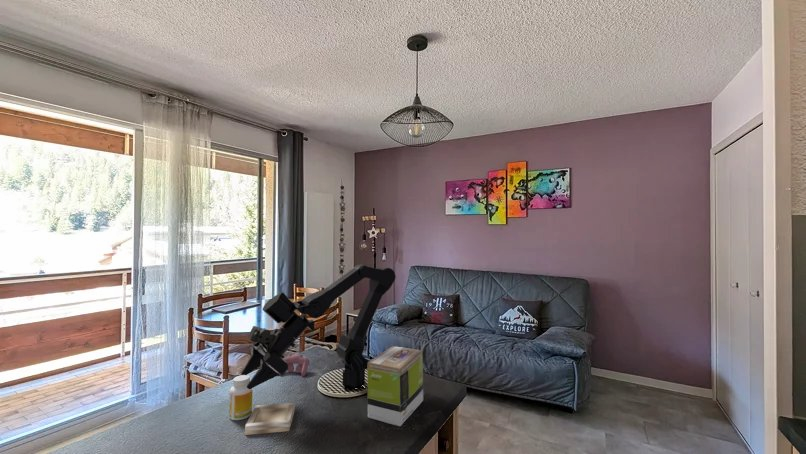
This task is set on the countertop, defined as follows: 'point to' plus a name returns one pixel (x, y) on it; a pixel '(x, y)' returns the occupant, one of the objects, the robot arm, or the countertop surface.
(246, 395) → the supplement bottle
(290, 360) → the pink legged piece
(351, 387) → the robot arm
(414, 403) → the tea box
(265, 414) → the recess plate
